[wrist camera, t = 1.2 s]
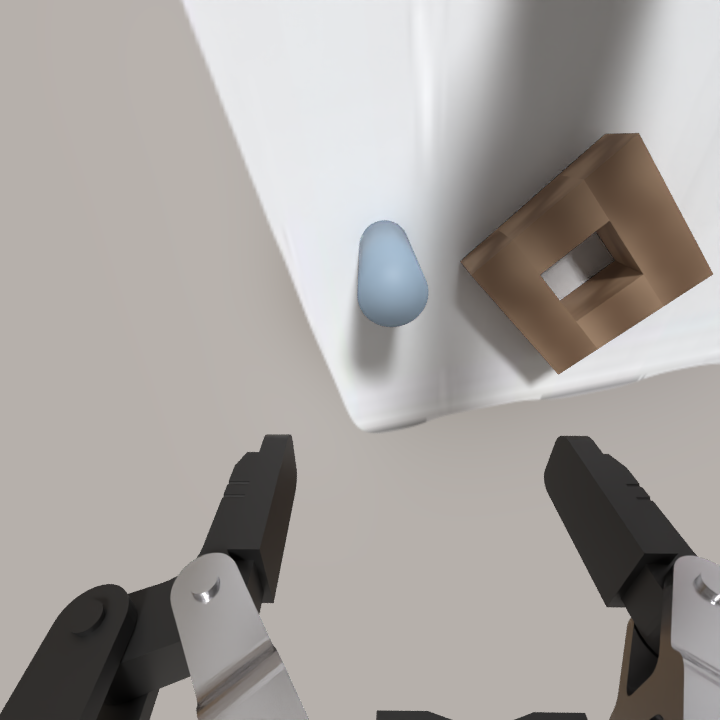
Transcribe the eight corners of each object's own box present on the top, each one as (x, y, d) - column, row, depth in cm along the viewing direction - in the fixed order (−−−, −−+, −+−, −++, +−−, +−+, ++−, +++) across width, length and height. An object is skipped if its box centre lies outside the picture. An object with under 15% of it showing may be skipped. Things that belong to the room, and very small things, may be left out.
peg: (384, 209, 31) (394, 244, 21) (418, 245, 33) (442, 295, 23) (349, 246, 33) (342, 295, 23) (383, 279, 34) (390, 339, 24)
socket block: (605, 133, 28) (638, 133, 25) (677, 260, 33) (713, 274, 30) (460, 261, 33) (471, 275, 30) (541, 353, 38) (558, 374, 35)
